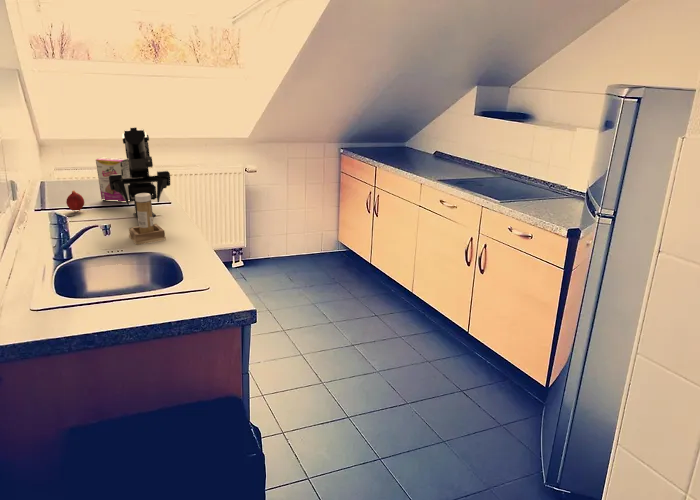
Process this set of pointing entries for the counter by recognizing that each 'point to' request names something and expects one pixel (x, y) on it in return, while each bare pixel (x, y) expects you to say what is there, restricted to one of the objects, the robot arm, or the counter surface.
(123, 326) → the counter surface
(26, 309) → the counter surface
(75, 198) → the onion
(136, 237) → the holder
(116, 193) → the candy bar box
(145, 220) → the sprinkles bottle
